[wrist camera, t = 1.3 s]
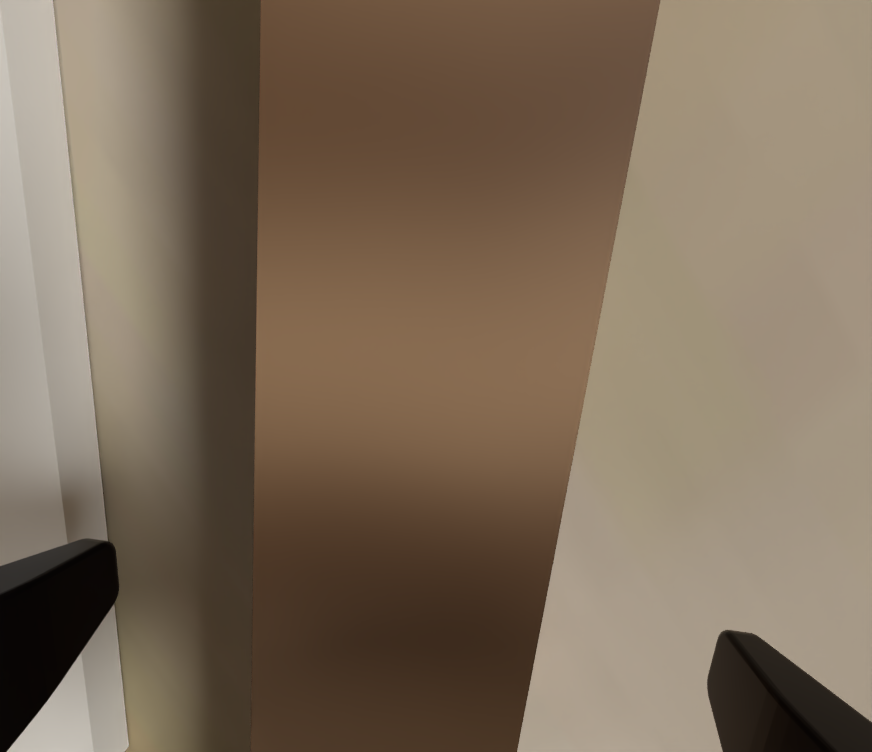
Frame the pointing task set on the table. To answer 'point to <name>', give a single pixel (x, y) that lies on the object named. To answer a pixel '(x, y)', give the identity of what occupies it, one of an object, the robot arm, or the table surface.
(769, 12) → the table surface
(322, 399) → the walnut rail
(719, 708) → the robot arm
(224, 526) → the table surface
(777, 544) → the table surface
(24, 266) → the mounting board
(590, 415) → the table surface
